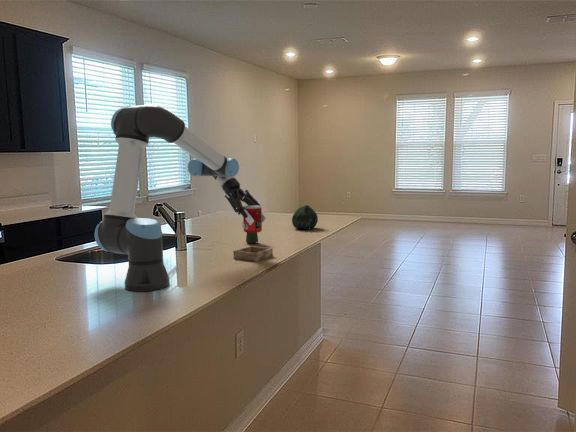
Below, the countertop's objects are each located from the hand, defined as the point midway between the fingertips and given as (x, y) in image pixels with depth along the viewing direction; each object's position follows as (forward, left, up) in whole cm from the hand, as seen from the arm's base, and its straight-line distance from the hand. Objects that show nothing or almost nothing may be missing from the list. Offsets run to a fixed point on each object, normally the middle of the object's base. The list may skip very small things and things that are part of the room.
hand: (258, 221), depth 213 cm
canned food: (0, +3, -5) cm, 6 cm away
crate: (0, +3, -16) cm, 16 cm away
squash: (+77, +26, -16) cm, 83 cm away
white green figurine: (+26, +25, -16) cm, 39 cm away
